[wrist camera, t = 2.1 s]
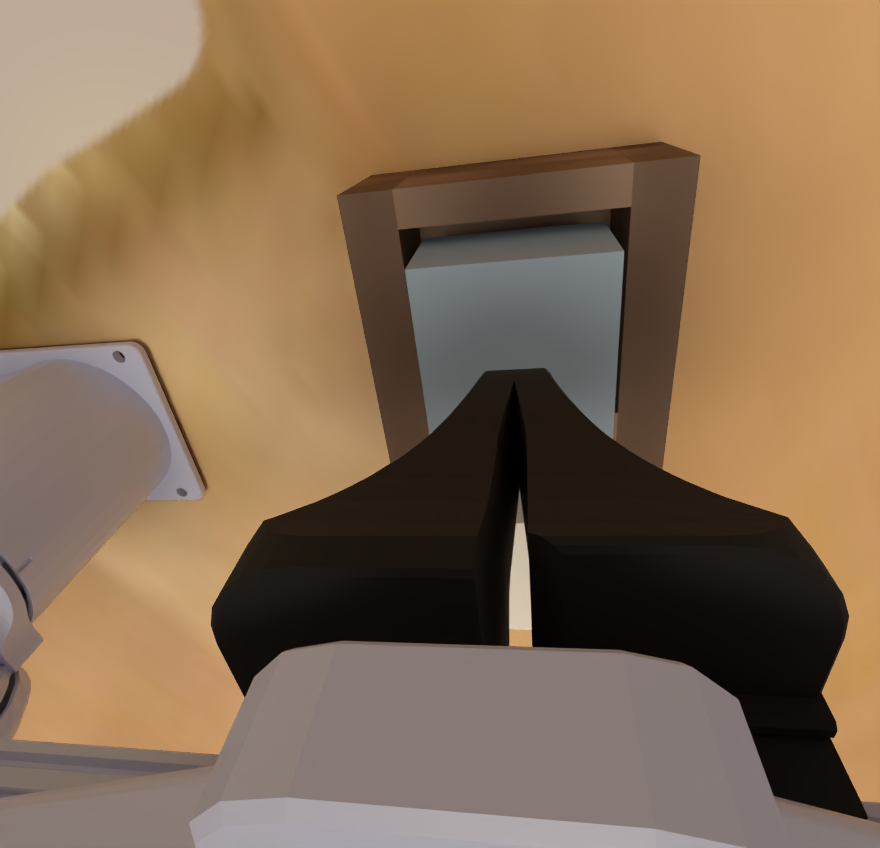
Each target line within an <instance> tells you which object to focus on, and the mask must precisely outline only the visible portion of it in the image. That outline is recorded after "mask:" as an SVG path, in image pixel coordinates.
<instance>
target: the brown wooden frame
mask: <svg viewBox="0 0 880 848" xmlns="http://www.w3.org/2000/svg"><path fill="white" fill-rule="evenodd" d="M699 164H700V155H698V154H695V153H692V152H689V151H686V150H683V149H680V148H678V147H675V146H672V145H669V144H666V143H663V142H657V143H648V144H639V145H631V146H622V147H613V148H605V149H596V150H587V151H579V152H570V153H562V154H553V155H544V156H536V157H527V158H518V159H510V160H501V161H492V162H484V163H475V164H467V165H458V166H449V167H441V168H432V169H423V170H415V171H406V172H397V173H389V174H380V175H372V176H370V177H368V178H366V179H365V180H363V181H361V182H359V183H358V184H356V185H354V186H353V187H351V188H349V189H347V190H346V191H344V192H342V193H341V194H339V195H337V199H338V204H339V209H340V214H341V219H342V224H343V229H344V234H345V239H346V244H347V249H348V254H349V259H350V264H351V269H352V273H353V278H354V283H355V288H356V293H357V298H358V303H359V308H360V313H361V318H362V323H363V328H364V333H365V338H366V343H367V348H368V353H369V358H370V363H371V368H372V373H373V378H374V383H375V388H376V393H377V398H378V403H379V408H380V413H381V418H382V423H383V428H384V433H385V438H386V443H387V448H388V453H389V458H390V463H392V462H394V461H395V460H397V459H399V458H400V457H402V456H403V455H404V454H406V453H407V452H408V451H410V450H411V449H412V448H414V447H415V446H416V445H418V444H419V443H420V442H421V441H423V440H424V439H425V438H426V437H427V436H429V428H428V422H427V415H426V408H425V402H424V395H423V388H422V382H421V375H420V368H419V362H418V355H417V348H416V342H415V335H414V328H413V322H412V315H411V308H410V302H409V295H408V288H407V282H406V275H405V268H406V267H407V265H408V264H409V262H410V260H411V259H412V257H413V256H414V254H415V252H416V251H417V249H418V248H419V246H420V244H421V243H422V241H423V240H424V238H433V237H444V236H455V235H465V234H476V233H486V232H497V231H508V230H518V229H529V228H539V227H550V226H561V225H571V224H582V223H592V222H603V221H604V222H605V223H606V225H607V226H608V228H609V229H610V231H611V232H612V234H613V235H614V237H615V238H616V239H617V241H618V242H619V244H620V245H621V247H622V248H623V250H624V264H623V281H622V297H621V314H620V330H619V347H618V363H617V380H616V396H615V413H614V429H613V440H615V441H616V442H618V443H619V444H620V445H622V446H623V447H625V448H626V449H628V450H629V451H631V452H632V453H634V454H636V455H637V456H639V457H640V458H642V459H644V460H646V461H647V462H649V463H651V464H653V465H655V466H657V467H659V468H660V469H662V467H663V459H664V451H665V443H666V434H667V426H668V418H669V410H670V402H671V393H672V385H673V377H674V369H675V361H676V352H677V344H678V336H679V328H680V320H681V311H682V303H683V295H684V287H685V279H686V270H687V262H688V254H689V246H690V237H691V229H692V221H693V213H694V205H695V196H696V188H697V180H698V172H699Z"/></svg>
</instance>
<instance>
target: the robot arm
mask: <svg viewBox="0 0 880 848" xmlns="http://www.w3.org/2000/svg"><path fill="white" fill-rule="evenodd" d="M119 352H121V353H122V354H123V355H124V356H125V358H123V357H122V356H121V355H120V354H119ZM182 488H183V489H184V490H183V489H182ZM519 489H520V496H521V504H522V511H523V519H524V526H525V534H526V541H527V549H528V556H529V575H530V599H531V622H532V646H533V647H515V646H509V590H510V574H511V564H512V555H513V546H514V537H515V527H516V518H517V509H518V499H519ZM185 490H186V491H185ZM204 493H205V487H204V484H203V482H202V480H201V478H200V475H199V473H198V471H197V468H196V466H195V464H194V461H193V459H192V457H191V454H190V452H189V450H188V448H187V445H186V443H185V441H184V438H183V436H182V434H181V431H180V429H179V427H178V424H177V422H176V420H175V418H174V415H173V413H172V411H171V408H170V406H169V404H168V401H167V399H166V397H165V395H164V392H163V390H162V388H161V385H160V383H159V381H158V378H157V376H156V374H155V371H154V369H153V367H152V365H151V362H150V360H149V358H148V355H147V353H146V351H145V350H144V348H143V347H142V346H141V345H140V344H138V343H136V342H131V341H128V342H113V343H99V344H84V345H70V346H55V347H41V348H26V349H11V350H0V848H880V803H876V802H862V801H860V799H859V797H858V794H857V792H856V790H855V788H854V786H853V784H852V782H851V780H850V778H849V776H848V774H847V772H846V770H845V768H844V766H843V763H842V761H841V759H840V757H839V755H838V753H837V751H836V749H835V747H834V745H833V743H832V741H831V739H830V738H834V737H835V735H836V733H837V725H836V721H835V719H834V717H833V715H832V713H831V711H830V709H829V707H828V705H827V703H826V701H825V699H824V697H823V695H822V693H821V692H822V690H823V688H824V685H825V683H826V681H827V678H828V676H829V674H830V671H831V669H832V667H833V664H834V662H835V660H836V657H837V655H838V653H839V650H840V648H841V646H842V643H843V641H844V638H845V634H846V629H847V624H848V619H849V614H848V611H847V607H846V603H845V600H844V596H843V594H842V592H841V590H840V589H839V587H838V586H837V584H836V583H835V581H834V580H833V578H832V576H831V575H830V573H829V572H828V570H827V569H826V567H825V565H824V564H823V562H822V561H821V560H820V558H819V557H818V555H817V554H816V552H815V551H814V550H813V548H812V547H811V545H810V544H809V543H808V542H807V541H806V539H805V538H804V537H803V536H802V534H801V533H800V532H799V531H798V529H797V528H796V527H795V526H794V524H793V523H792V522H791V520H790V519H789V518H788V517H785V516H782V515H779V514H776V513H773V512H770V511H767V510H763V509H760V508H757V507H754V506H751V505H748V504H745V503H742V502H738V501H735V500H732V499H729V498H726V497H723V496H721V495H718V494H716V493H713V492H711V491H708V490H706V489H704V488H701V487H699V486H696V485H694V484H691V483H689V482H687V481H685V480H683V479H680V478H678V477H676V476H674V475H672V474H670V473H668V472H666V471H664V470H662V469H660V468H659V467H657V466H655V465H653V464H651V463H649V462H647V461H646V460H644V459H642V458H640V457H639V456H637V455H636V454H634V453H632V452H631V451H629V450H628V449H626V448H625V447H623V446H622V445H620V444H619V443H618V442H616V441H615V440H613V439H612V438H610V437H609V436H608V435H606V434H605V433H604V432H603V431H601V430H600V429H599V428H598V427H597V426H596V425H595V424H594V423H593V422H591V421H590V420H589V419H588V418H587V417H586V416H585V415H584V414H583V413H582V412H581V411H580V410H579V409H578V407H577V406H576V405H575V404H574V403H573V402H572V401H571V400H570V399H569V398H568V396H567V395H566V394H565V393H564V392H563V390H562V389H561V388H560V387H559V385H558V384H557V383H556V381H555V380H554V378H553V377H552V375H551V373H550V372H549V371H548V370H547V369H546V368H532V369H513V370H493V371H485V372H484V373H483V374H482V375H481V377H480V378H479V379H478V381H477V382H476V383H475V385H474V386H473V387H472V389H471V390H470V391H469V392H468V394H467V395H466V396H465V398H464V399H463V400H462V401H461V402H460V403H459V405H458V406H457V407H456V408H455V409H454V410H453V411H452V413H451V414H450V415H449V416H448V417H447V418H446V419H445V420H444V421H443V422H442V423H441V424H440V425H439V426H438V427H437V428H436V429H435V430H434V431H433V432H432V433H431V434H430V435H429V436H427V437H426V438H425V439H424V440H423V441H421V442H420V443H419V444H418V445H416V446H415V447H414V448H412V449H411V450H410V451H408V452H407V453H406V454H404V455H403V456H402V457H400V458H399V459H397V460H395V461H394V462H392V463H390V464H389V465H387V466H386V467H384V468H382V469H381V470H379V471H378V472H376V473H374V474H373V475H371V476H369V477H368V478H366V479H364V480H362V481H360V482H358V483H356V484H354V485H352V486H350V487H348V488H346V489H344V490H342V491H340V492H338V493H335V494H333V495H331V496H329V497H327V498H324V499H322V500H320V501H317V502H315V503H312V504H309V505H307V506H304V507H301V508H298V509H296V510H293V511H290V512H288V513H285V514H282V515H279V516H277V517H274V518H271V519H267V520H264V521H263V523H262V524H261V526H260V527H259V528H258V530H257V531H256V533H255V535H254V536H253V538H252V539H251V541H250V542H249V544H248V545H247V547H246V549H245V550H244V552H243V554H242V556H241V557H240V559H239V561H238V563H237V564H236V566H235V568H234V569H233V571H232V573H231V575H230V576H229V578H228V580H227V582H226V583H225V585H224V587H223V589H222V590H221V592H220V594H219V596H218V598H217V599H216V601H215V603H214V605H213V607H212V616H211V627H212V630H213V633H214V636H215V639H216V642H217V645H218V647H219V649H220V651H221V653H222V655H223V656H224V658H225V660H226V662H227V664H228V666H229V668H230V670H231V672H232V674H233V676H234V678H235V680H236V682H237V683H238V685H239V687H240V689H241V691H242V693H243V695H244V697H245V698H244V701H243V703H242V705H241V707H240V710H239V712H238V714H237V716H236V719H235V721H234V723H233V725H232V727H231V730H230V732H229V734H228V736H227V739H226V741H225V743H224V745H223V748H222V750H221V752H220V754H219V755H217V754H204V753H190V752H176V751H162V750H149V749H135V748H121V747H107V746H94V745H80V744H66V743H53V742H39V741H25V740H12V739H13V737H14V735H15V733H16V731H17V729H18V727H19V725H20V722H21V719H22V716H23V713H24V710H25V708H26V706H27V703H28V699H29V695H30V691H31V680H30V678H29V676H28V674H27V672H26V671H25V670H24V669H23V668H21V666H22V665H23V663H24V662H25V661H26V660H27V659H28V658H29V656H30V655H31V654H32V653H33V652H34V651H35V649H36V648H37V647H38V646H39V645H40V644H41V642H42V641H43V637H42V636H41V635H40V634H39V633H38V632H37V631H36V630H35V628H34V627H33V626H32V623H33V622H34V621H35V620H36V619H37V618H38V617H39V616H40V614H41V613H42V612H43V611H44V610H45V609H46V608H47V607H48V606H49V605H50V603H51V602H52V601H53V600H54V599H55V598H56V597H57V596H58V595H59V594H60V592H61V591H62V590H63V589H64V588H65V587H66V586H67V585H68V584H69V583H70V581H71V580H72V579H73V578H74V577H75V576H76V575H77V574H78V573H79V572H80V570H81V569H82V568H83V567H84V566H85V565H86V564H87V563H88V562H89V561H90V559H91V558H92V557H93V556H94V555H95V554H96V553H97V552H98V551H99V550H100V548H101V547H102V546H103V545H104V544H105V543H106V542H107V541H108V540H109V539H110V537H111V536H112V535H113V534H114V533H115V532H116V531H117V530H118V529H119V528H120V526H121V525H122V524H123V523H124V522H125V521H126V520H127V519H128V518H129V517H130V515H131V514H132V513H133V512H134V511H135V510H136V509H137V508H138V507H139V506H140V504H141V503H142V502H143V501H148V500H197V499H200V498H201V497H202V496H203V495H204Z"/></svg>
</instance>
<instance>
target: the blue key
mask: <svg viewBox="0 0 880 848" xmlns="http://www.w3.org/2000/svg"><path fill="white" fill-rule="evenodd" d="M623 264H624V250H623V248H622V247H621V245H620V244H619V242H618V241H617V239H616V238H615V237H614V235H613V234H612V232H611V231H610V229H609V228H608V226H607V225H606V223H605V222H604V221H603V222H592V223H582V224H571V225H561V226H550V227H539V228H529V229H518V230H508V231H497V232H486V233H476V234H465V235H455V236H444V237H433V238H424V240H423V241H422V243H421V244H420V246H419V248H418V249H417V251H416V252H415V254H414V256H413V257H412V259H411V260H410V262H409V264H408V265H407V267H406V268H405V275H406V282H407V288H408V295H409V302H410V308H411V315H412V322H413V328H414V335H415V342H416V348H417V355H418V362H419V368H420V375H421V382H422V388H423V395H424V402H425V408H426V415H427V422H428V428H429V435H430V434H431V433H432V432H433V431H434V430H435V429H436V428H437V427H438V426H439V425H440V424H441V423H442V422H443V421H444V420H445V419H446V418H447V417H448V416H449V415H450V414H451V413H452V411H453V410H454V409H455V408H456V407H457V406H458V405H459V403H460V402H461V401H462V400H463V399H464V398H465V396H466V395H467V394H468V392H469V391H470V390H471V389H472V387H473V386H474V385H475V383H476V382H477V381H478V379H479V378H480V377H481V375H482V374H483V373H484V372H485V371H493V370H513V369H532V368H546V369H547V370H548V371H549V372H550V373H551V375H552V377H553V378H554V380H555V381H556V383H557V384H558V385H559V387H560V388H561V389H562V390H563V392H564V393H565V394H566V395H567V396H568V398H569V399H570V400H571V401H572V402H573V403H574V404H575V405H576V406H577V407H578V409H579V410H580V411H581V412H582V413H583V414H584V415H585V416H586V417H587V418H588V419H589V420H590V421H591V422H593V423H594V424H595V425H596V426H597V427H598V428H599V429H600V430H601V431H603V432H604V433H605V434H606V435H608V436H609V437H610V438H612V439H613V429H614V413H615V396H616V380H617V363H618V347H619V330H620V314H621V297H622V281H623Z"/></svg>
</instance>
